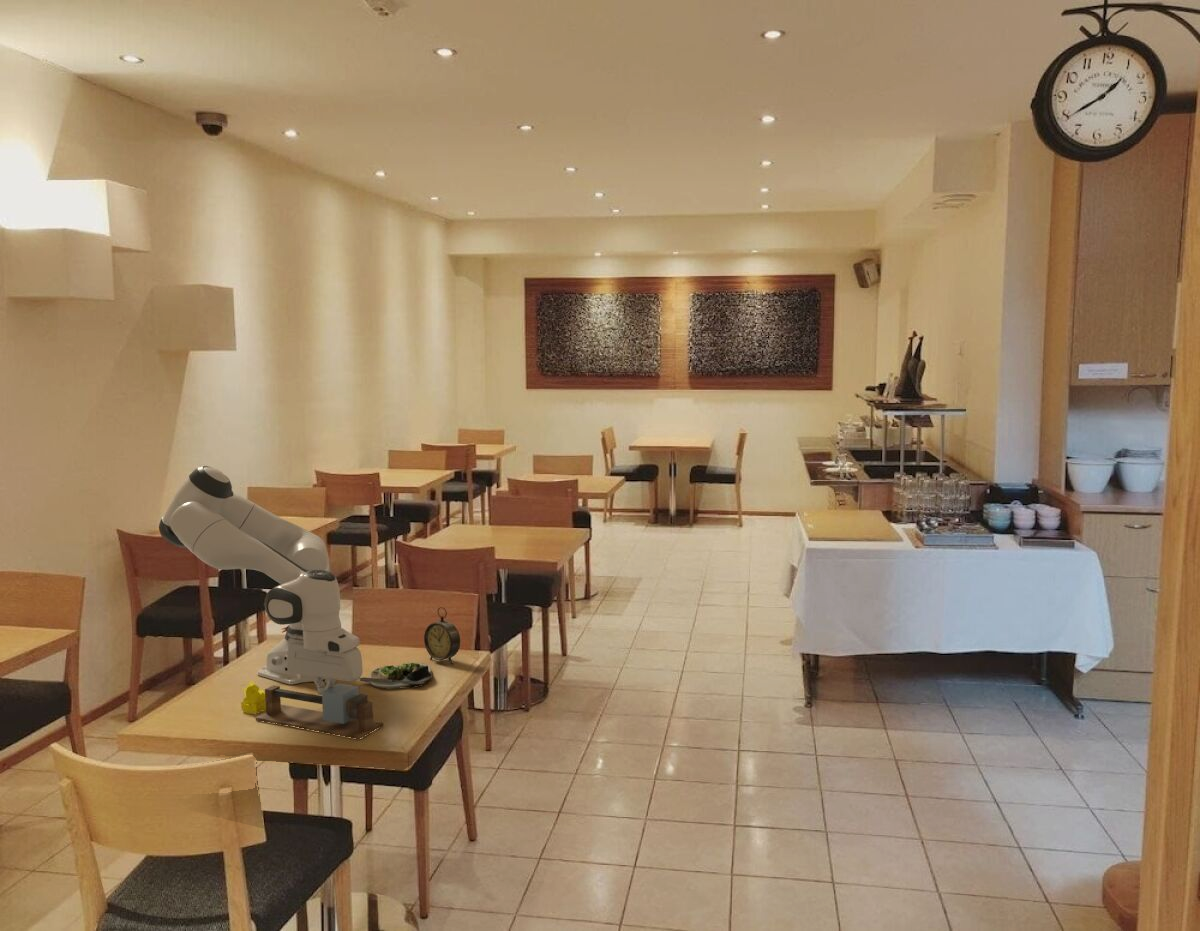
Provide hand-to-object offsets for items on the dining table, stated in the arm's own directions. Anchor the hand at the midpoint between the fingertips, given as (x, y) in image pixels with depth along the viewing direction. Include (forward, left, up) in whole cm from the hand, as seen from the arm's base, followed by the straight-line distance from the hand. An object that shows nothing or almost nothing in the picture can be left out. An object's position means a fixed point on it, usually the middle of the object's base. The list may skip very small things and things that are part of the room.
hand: (325, 694), depth 225 cm
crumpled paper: (-23, +2, -8) cm, 25 cm away
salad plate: (-1, +34, -8) cm, 35 cm away
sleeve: (+4, 0, -5) cm, 7 cm away
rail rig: (-2, 0, -8) cm, 8 cm away
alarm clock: (+1, +50, -8) cm, 51 cm away
